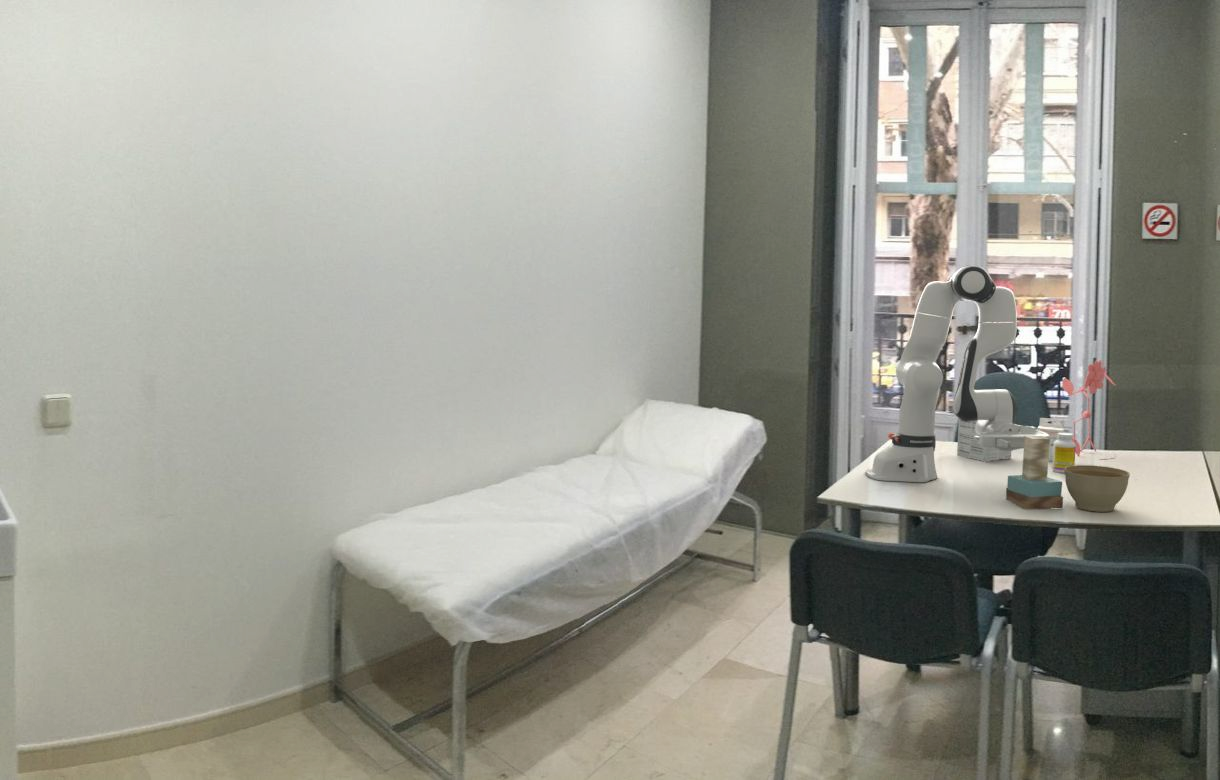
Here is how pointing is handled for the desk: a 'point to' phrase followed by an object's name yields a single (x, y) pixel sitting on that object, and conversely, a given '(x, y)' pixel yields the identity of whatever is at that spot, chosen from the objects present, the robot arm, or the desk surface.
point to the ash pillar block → (1035, 458)
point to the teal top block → (1034, 486)
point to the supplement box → (976, 444)
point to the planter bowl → (1096, 486)
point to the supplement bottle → (1063, 452)
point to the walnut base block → (1034, 501)
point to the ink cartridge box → (1051, 431)
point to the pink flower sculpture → (1093, 382)
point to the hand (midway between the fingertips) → (1024, 445)
